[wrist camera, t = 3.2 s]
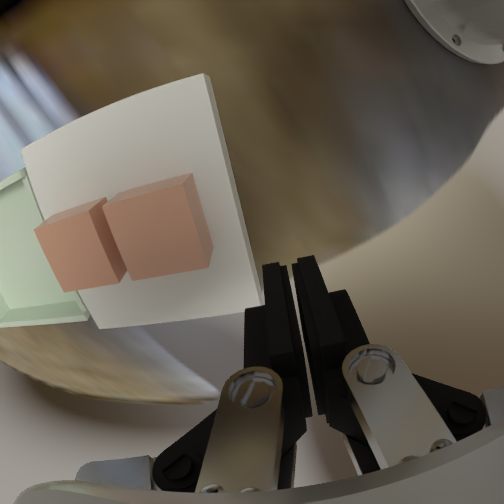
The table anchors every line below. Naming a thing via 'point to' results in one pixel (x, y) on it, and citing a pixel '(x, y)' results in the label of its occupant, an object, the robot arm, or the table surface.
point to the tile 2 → (160, 228)
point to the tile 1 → (81, 247)
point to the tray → (29, 264)
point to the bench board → (145, 172)
